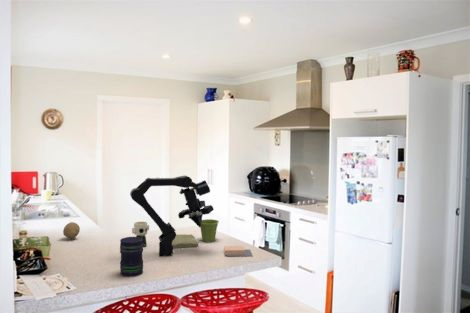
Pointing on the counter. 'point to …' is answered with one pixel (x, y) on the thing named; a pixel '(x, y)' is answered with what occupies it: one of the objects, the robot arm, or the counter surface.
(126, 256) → the storage jar
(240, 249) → the tile
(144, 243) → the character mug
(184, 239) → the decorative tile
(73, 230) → the natural sponge
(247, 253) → the mat
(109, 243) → the counter surface
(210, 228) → the plant pot
